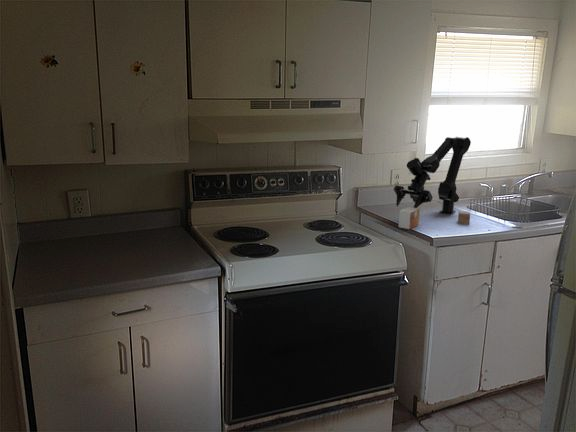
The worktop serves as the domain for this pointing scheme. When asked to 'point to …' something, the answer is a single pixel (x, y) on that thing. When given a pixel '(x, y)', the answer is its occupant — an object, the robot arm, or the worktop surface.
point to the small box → (409, 218)
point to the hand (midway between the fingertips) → (405, 207)
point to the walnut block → (463, 217)
